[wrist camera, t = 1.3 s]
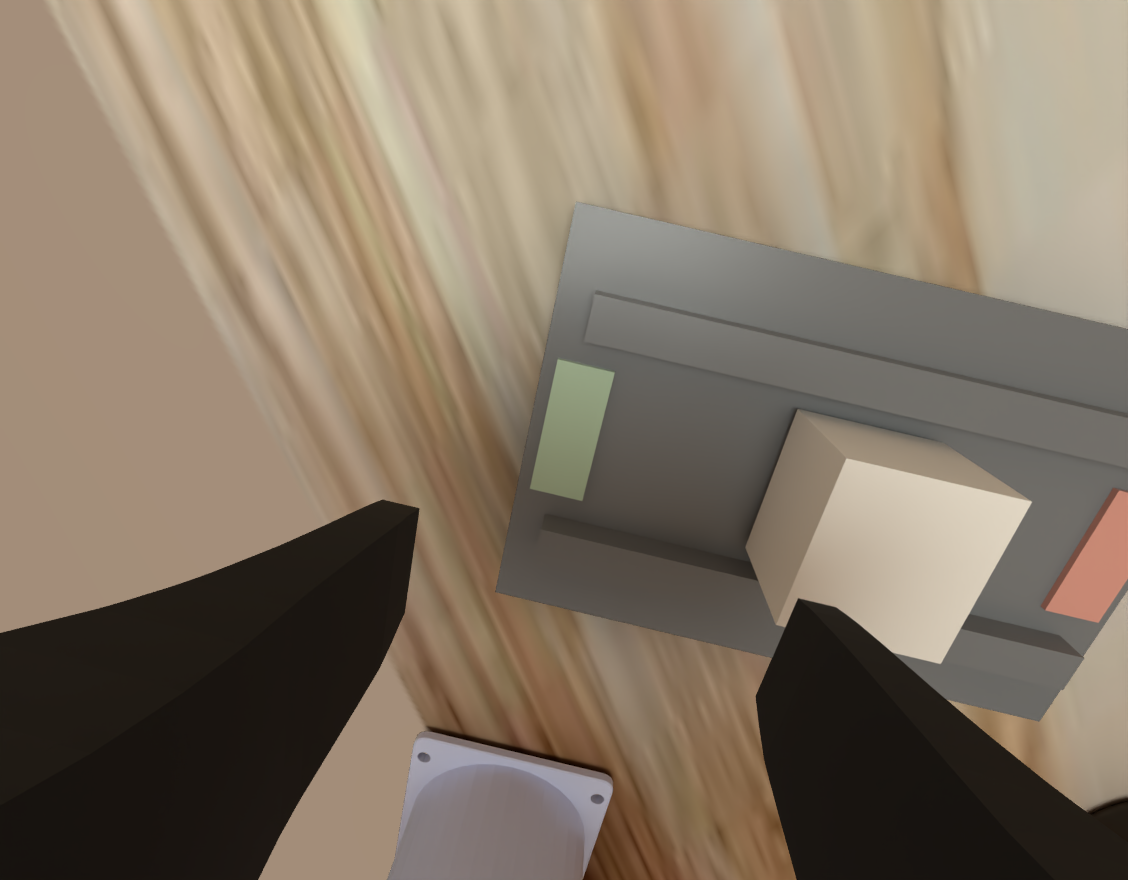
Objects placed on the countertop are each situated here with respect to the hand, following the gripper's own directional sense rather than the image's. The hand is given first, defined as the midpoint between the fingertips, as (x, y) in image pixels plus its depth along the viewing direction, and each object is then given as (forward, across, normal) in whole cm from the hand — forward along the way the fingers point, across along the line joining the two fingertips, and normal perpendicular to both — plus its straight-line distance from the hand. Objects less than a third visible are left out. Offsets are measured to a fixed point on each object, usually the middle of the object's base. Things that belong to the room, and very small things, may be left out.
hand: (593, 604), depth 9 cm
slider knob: (+8, -7, 0) cm, 10 cm away
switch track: (+9, -7, 0) cm, 12 cm away
